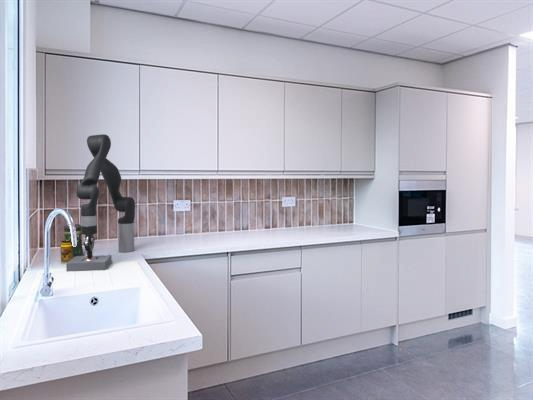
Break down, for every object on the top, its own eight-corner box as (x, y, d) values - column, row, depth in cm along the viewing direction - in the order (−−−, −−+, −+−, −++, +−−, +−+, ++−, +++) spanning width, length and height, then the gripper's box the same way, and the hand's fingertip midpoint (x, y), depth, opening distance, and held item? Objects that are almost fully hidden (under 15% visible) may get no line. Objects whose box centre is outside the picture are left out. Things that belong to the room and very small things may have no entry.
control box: (75, 263, 211) (75, 256, 211) (111, 262, 214) (111, 255, 214) (66, 271, 195) (66, 263, 195) (105, 269, 199) (105, 262, 198)
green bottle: (81, 254, 234) (80, 223, 232) (84, 256, 227) (83, 224, 226) (63, 256, 228) (62, 224, 227) (65, 259, 222) (64, 226, 220)
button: (85, 264, 207) (85, 257, 207) (97, 263, 208) (97, 256, 208) (82, 267, 201) (82, 259, 201) (94, 266, 202) (94, 259, 202)
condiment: (61, 264, 210) (60, 241, 209) (58, 261, 217) (57, 239, 216) (76, 262, 215) (75, 240, 214) (72, 259, 221) (72, 237, 221)
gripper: (84, 222, 209) (85, 255, 210) (77, 226, 196) (78, 261, 197) (99, 222, 210) (100, 254, 212) (93, 226, 197) (94, 260, 199)
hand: (89, 257), depth 205 cm, fingers closed
